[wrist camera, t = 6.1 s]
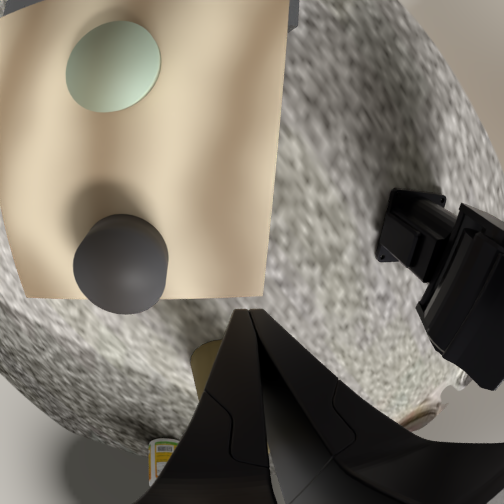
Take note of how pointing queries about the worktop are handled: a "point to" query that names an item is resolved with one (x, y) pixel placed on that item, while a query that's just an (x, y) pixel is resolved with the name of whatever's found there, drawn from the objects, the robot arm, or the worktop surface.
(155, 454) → the supplement bottle
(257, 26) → the board
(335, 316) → the worktop surface
